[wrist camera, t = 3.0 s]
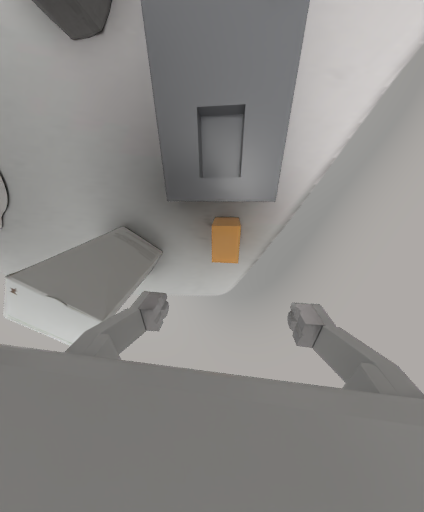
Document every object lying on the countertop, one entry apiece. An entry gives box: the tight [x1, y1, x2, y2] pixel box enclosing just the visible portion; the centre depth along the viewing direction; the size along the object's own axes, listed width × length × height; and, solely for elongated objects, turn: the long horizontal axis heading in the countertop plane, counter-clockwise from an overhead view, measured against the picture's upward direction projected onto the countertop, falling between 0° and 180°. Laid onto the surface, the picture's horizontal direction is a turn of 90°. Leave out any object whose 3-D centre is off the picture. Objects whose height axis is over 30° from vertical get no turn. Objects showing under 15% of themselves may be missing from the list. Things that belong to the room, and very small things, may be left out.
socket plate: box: [141, 0, 310, 202], centre depth 16 cm, size 14×20×4 cm
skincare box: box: [3, 226, 163, 346], centre depth 21 cm, size 8×7×16 cm
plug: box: [212, 217, 241, 263], centre depth 22 cm, size 4×5×6 cm
